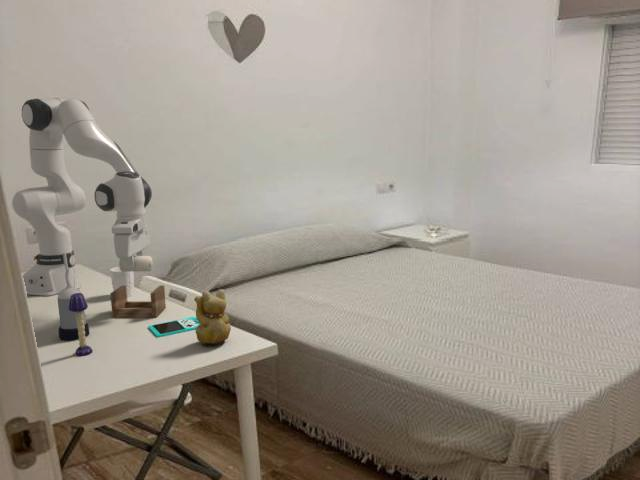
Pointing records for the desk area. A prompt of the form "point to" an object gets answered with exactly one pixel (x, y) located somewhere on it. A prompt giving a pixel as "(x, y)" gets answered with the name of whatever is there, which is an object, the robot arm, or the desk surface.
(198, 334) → the decorative figurine
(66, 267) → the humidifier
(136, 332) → the desk surface
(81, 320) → the toy lamp
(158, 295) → the holder
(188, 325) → the handheld game console
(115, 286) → the white cup
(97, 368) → the desk surface
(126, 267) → the roll
